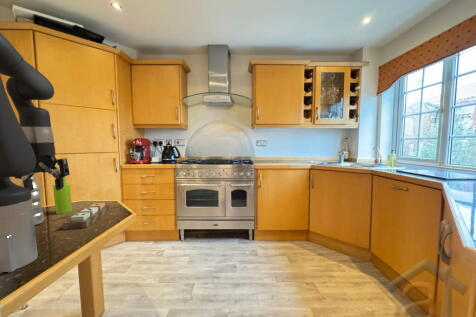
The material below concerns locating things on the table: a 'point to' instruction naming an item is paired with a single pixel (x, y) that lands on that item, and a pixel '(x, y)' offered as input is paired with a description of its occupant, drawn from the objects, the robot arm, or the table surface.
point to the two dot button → (80, 216)
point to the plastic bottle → (36, 202)
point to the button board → (88, 221)
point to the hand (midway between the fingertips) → (44, 190)
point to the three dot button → (90, 210)
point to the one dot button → (98, 205)
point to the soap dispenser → (63, 198)
